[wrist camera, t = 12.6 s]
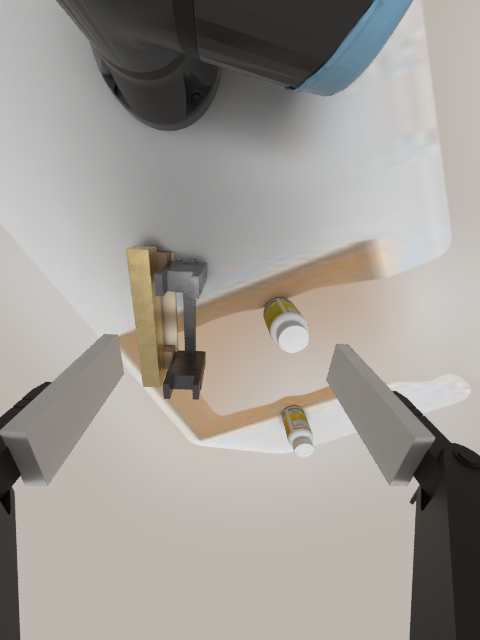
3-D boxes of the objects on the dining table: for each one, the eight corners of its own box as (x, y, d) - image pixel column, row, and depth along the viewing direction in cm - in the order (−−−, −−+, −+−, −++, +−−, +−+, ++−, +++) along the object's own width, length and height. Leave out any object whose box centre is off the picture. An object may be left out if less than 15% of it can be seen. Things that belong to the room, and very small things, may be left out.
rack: (171, 257, 39) (152, 270, 30) (206, 259, 40) (199, 273, 30) (176, 364, 48) (163, 400, 39) (205, 365, 48) (199, 401, 39)
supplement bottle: (294, 401, 54) (307, 437, 45) (308, 413, 55) (323, 450, 47) (276, 414, 55) (285, 451, 46) (290, 425, 57) (302, 463, 48)
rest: (131, 248, 38) (124, 251, 36) (174, 251, 39) (169, 254, 36) (144, 359, 47) (139, 368, 44) (178, 360, 48) (175, 369, 45)
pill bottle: (266, 329, 46) (276, 361, 36) (260, 300, 43) (269, 326, 33) (296, 322, 45) (316, 352, 35) (292, 293, 43) (312, 316, 33)
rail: (136, 245, 35) (126, 248, 32) (156, 246, 36) (148, 250, 32) (150, 372, 45) (143, 386, 41) (165, 373, 45) (160, 387, 42)
